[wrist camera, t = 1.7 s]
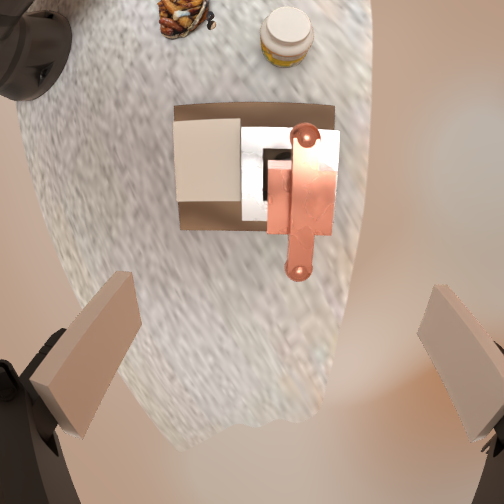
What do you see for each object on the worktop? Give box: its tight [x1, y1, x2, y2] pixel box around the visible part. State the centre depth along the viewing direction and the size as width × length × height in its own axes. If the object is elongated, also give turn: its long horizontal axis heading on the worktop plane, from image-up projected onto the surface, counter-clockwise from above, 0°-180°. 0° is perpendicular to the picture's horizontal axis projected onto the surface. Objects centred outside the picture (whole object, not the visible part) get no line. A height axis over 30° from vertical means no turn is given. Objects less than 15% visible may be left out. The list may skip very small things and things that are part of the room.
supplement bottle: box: [260, 6, 314, 67], centre depth 25 cm, size 5×5×10 cm
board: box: [174, 102, 335, 231], centre depth 35 cm, size 16×19×1 cm
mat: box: [173, 118, 241, 202], centre depth 35 cm, size 10×8×1 cm
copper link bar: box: [267, 122, 336, 282], centre depth 27 cm, size 11×5×18 cm, turn 0°
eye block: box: [241, 127, 340, 223], centre depth 33 cm, size 10×10×5 cm
